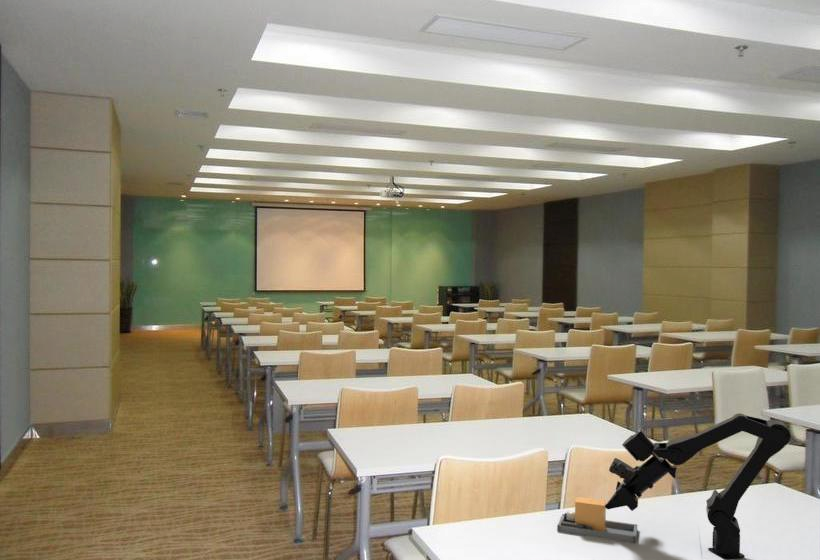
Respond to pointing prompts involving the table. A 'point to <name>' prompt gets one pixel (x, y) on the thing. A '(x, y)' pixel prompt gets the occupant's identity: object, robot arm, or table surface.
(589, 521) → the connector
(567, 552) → the table surface
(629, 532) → the tray
